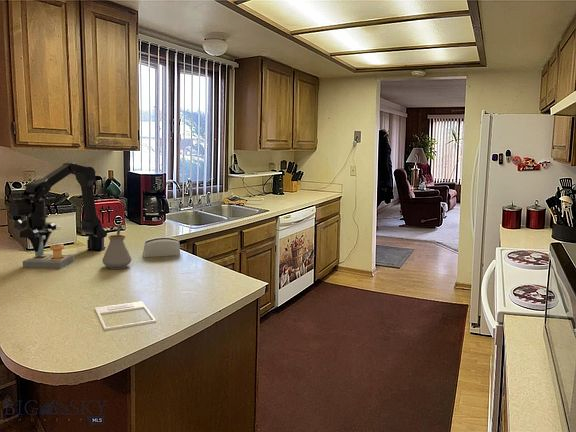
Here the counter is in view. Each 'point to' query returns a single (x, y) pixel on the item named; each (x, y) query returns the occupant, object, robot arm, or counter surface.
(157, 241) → the grey arched block
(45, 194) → the robot arm
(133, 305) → the photo frame
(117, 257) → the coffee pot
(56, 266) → the block
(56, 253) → the jaw orange
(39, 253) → the blue peg
